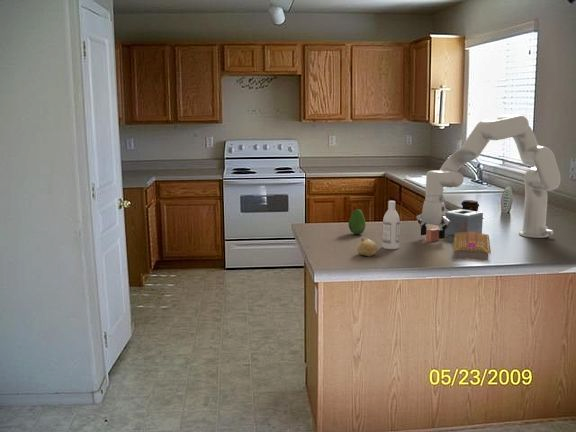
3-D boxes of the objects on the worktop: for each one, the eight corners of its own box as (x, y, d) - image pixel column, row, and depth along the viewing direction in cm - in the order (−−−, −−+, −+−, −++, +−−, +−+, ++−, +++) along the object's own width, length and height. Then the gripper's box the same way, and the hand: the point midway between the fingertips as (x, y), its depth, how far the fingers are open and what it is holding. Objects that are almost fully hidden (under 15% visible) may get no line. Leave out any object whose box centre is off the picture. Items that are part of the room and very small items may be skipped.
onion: (374, 252, 248) (375, 235, 247) (378, 257, 240) (378, 240, 239) (355, 252, 248) (355, 236, 246) (358, 257, 240) (358, 240, 239)
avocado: (366, 233, 286) (367, 208, 283) (364, 236, 278) (364, 210, 276) (349, 232, 288) (350, 207, 286) (346, 235, 280) (347, 210, 278)
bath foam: (396, 245, 260) (397, 199, 256) (400, 249, 253) (402, 202, 250) (380, 246, 259) (381, 199, 256) (384, 249, 252) (385, 202, 249)
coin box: (481, 235, 279) (483, 212, 277) (466, 239, 271) (468, 215, 269) (459, 231, 288) (460, 209, 286) (444, 235, 280) (445, 211, 278)
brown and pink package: (490, 262, 234) (491, 246, 233) (451, 259, 238) (452, 244, 237) (488, 242, 267) (489, 229, 266) (454, 240, 271) (455, 227, 270)
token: (438, 240, 271) (439, 229, 270) (430, 242, 267) (431, 231, 266) (434, 239, 273) (434, 228, 272) (426, 241, 269) (426, 230, 268)
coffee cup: (458, 227, 298) (459, 201, 296) (461, 224, 306) (463, 199, 303) (476, 229, 294) (477, 202, 292) (479, 226, 302) (480, 200, 299)
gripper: (455, 200, 262) (453, 238, 265) (423, 195, 275) (421, 232, 278) (445, 202, 258) (443, 241, 261) (413, 197, 271) (411, 234, 274)
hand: (432, 236), depth 269 cm, fingers open, 9 cm apart
